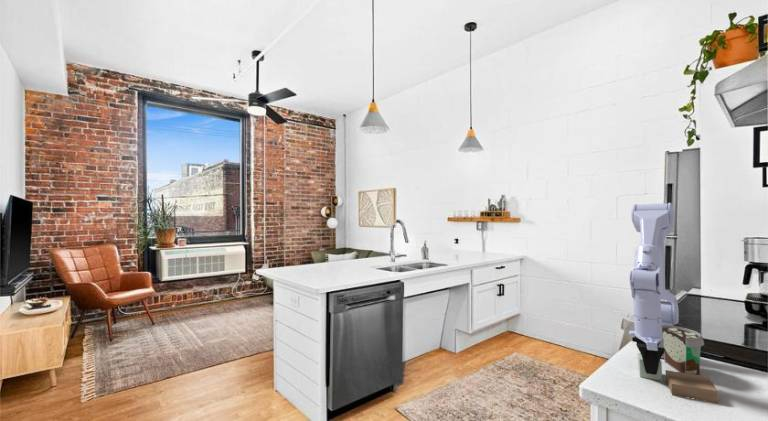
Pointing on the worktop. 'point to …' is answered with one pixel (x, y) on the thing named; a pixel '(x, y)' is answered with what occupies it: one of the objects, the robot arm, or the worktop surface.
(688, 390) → the walnut block
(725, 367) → the worktop surface
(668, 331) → the food container
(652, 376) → the sage cube
